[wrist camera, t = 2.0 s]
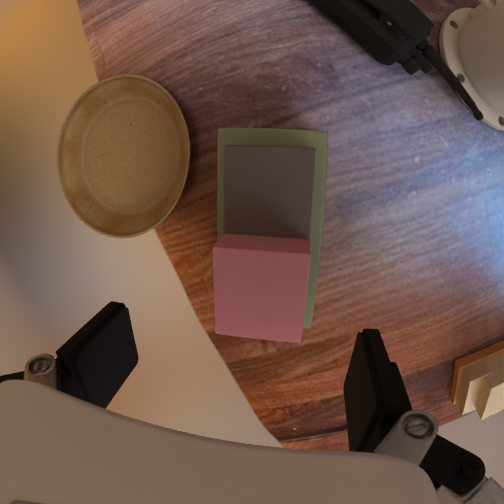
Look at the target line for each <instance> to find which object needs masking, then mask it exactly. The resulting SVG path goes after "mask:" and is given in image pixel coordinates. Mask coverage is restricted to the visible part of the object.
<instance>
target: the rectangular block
mask: <svg viewBox="0 0 504 504" xmlns="http://www.w3.org/2000/svg"><path fill="white" fill-rule="evenodd" d="M225 145H253V146H283V147H301V148H314V149H315V150H316V152H315V173H314V191H313V206H312V220H311V233H310V250H311V258H310V268H309V278H308V287H307V296H306V304H305V313H304V321H303V328H311V322H312V315H313V307H314V300H315V292H316V284H317V276H318V267H319V258H320V248H321V238H322V227H323V215H324V203H325V188H326V172H327V153H328V132H327V131H316V130H301V129H280V128H218V149H217V229H218V240H219V239H220V238H221V237H222V235H223V234H224V146H225Z"/></svg>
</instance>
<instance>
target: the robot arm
mask: <svg viewBox="0 0 504 504" xmlns="http://www.w3.org/2000/svg"><path fill="white" fill-rule="evenodd" d="M494 2H495V4H496V5H493V4H492V3H491V0H480V4H479V6H477V7H476V8H461V9H458V10H456V11H454V12H452V13H451V14H450V15H449V16H448V17H447V18H446V19H445V21H444V22H443V24H442V26H441V30H440V35H439V47H440V55H441V58H442V59H443V60H444V62H445V63H446V64H447V66H448V67H449V68H450V70H451V71H452V72H453V73H454V75H455V76H456V77H457V79H458V80H459V81H460V83H461V84H462V85H463V87H464V88H465V89H466V91H467V92H468V94H469V95H470V96H471V98H472V99H473V101H474V102H475V104H476V105H477V107H478V109H479V110H480V111H481V112H482V114H483V119H482V120H481V121H482V122H484V123H485V124H487V125H488V126H490V127H492V128H495V129H497V130H500V131H504V0H494ZM456 93H457V92H456ZM458 96H459V95H458ZM459 97H460V96H459ZM460 99H461V97H460ZM461 100H462V99H461ZM462 102H463V103H464V101H463V100H462ZM464 104H465V103H464ZM465 105H466V104H465ZM466 106H467V105H466ZM467 108H468V107H467ZM468 109H469V108H468ZM469 110H470V109H469ZM470 111H471V110H470ZM471 112H472V111H471ZM472 113H473V112H472ZM56 354H57V356H58V357H57V358H56V359H55V358H54V357H53V356H52V355H49V354H39V355H36V356H34V357H32V358H31V359H29V361H28V362H27V363H26V366H25V371H22V372H17V373H12V374H8V375H3V376H0V504H504V489H503V488H502V487H501V486H500V485H499V484H498V483H497V482H496V481H495V480H494V479H493V478H492V477H490V478H489V479H487V477H486V476H485V466H484V463H483V461H482V460H481V459H480V458H479V457H478V456H476V455H474V454H473V453H471V452H469V451H467V450H465V449H463V448H461V447H459V446H457V445H455V444H454V443H452V442H450V441H448V440H446V439H445V438H443V437H441V436H439V435H437V432H438V423H437V421H436V419H435V418H434V417H433V416H432V415H431V414H429V413H428V412H425V411H422V410H412V407H411V404H410V401H409V398H408V395H407V392H406V389H405V386H404V383H403V380H402V377H401V374H400V372H399V369H398V366H397V364H396V363H395V362H390V360H389V357H388V354H387V351H386V349H385V346H384V343H383V340H382V338H381V335H380V332H379V330H378V329H363V331H362V332H359V333H358V334H357V338H356V342H355V346H354V350H353V354H352V357H351V361H350V365H349V368H348V372H347V375H346V379H345V382H344V399H345V408H346V418H347V428H348V439H349V451H326V450H305V449H291V448H279V447H269V446H260V445H252V444H245V443H238V442H231V441H225V440H220V439H214V438H209V437H204V436H199V435H194V434H189V433H185V432H181V431H177V430H173V429H169V428H165V427H161V426H158V425H153V424H150V423H147V422H144V421H140V420H137V419H134V418H131V417H127V416H124V415H121V414H118V413H115V412H112V411H110V410H107V409H106V407H107V406H108V404H109V403H110V401H111V400H112V398H113V397H114V396H115V394H116V393H117V391H118V390H119V389H120V387H121V386H122V384H123V383H124V381H125V380H126V379H127V377H128V376H129V375H130V373H131V372H132V370H133V369H134V368H135V366H136V365H137V363H138V353H137V349H136V344H135V340H134V335H133V330H132V326H131V321H130V315H129V310H128V308H127V307H125V305H124V304H123V303H119V302H113V301H111V302H110V303H109V304H107V305H106V306H105V307H104V308H103V309H102V310H101V311H99V312H98V313H97V314H96V315H95V316H94V317H93V318H92V319H91V320H90V321H89V322H87V323H86V324H85V325H84V326H83V327H82V328H81V329H80V330H79V331H77V332H76V333H75V334H74V335H73V336H72V337H71V338H70V339H69V340H68V341H67V342H66V343H65V344H64V345H63V346H61V347H60V348H59V349H58V350H57V351H56Z"/></svg>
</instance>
